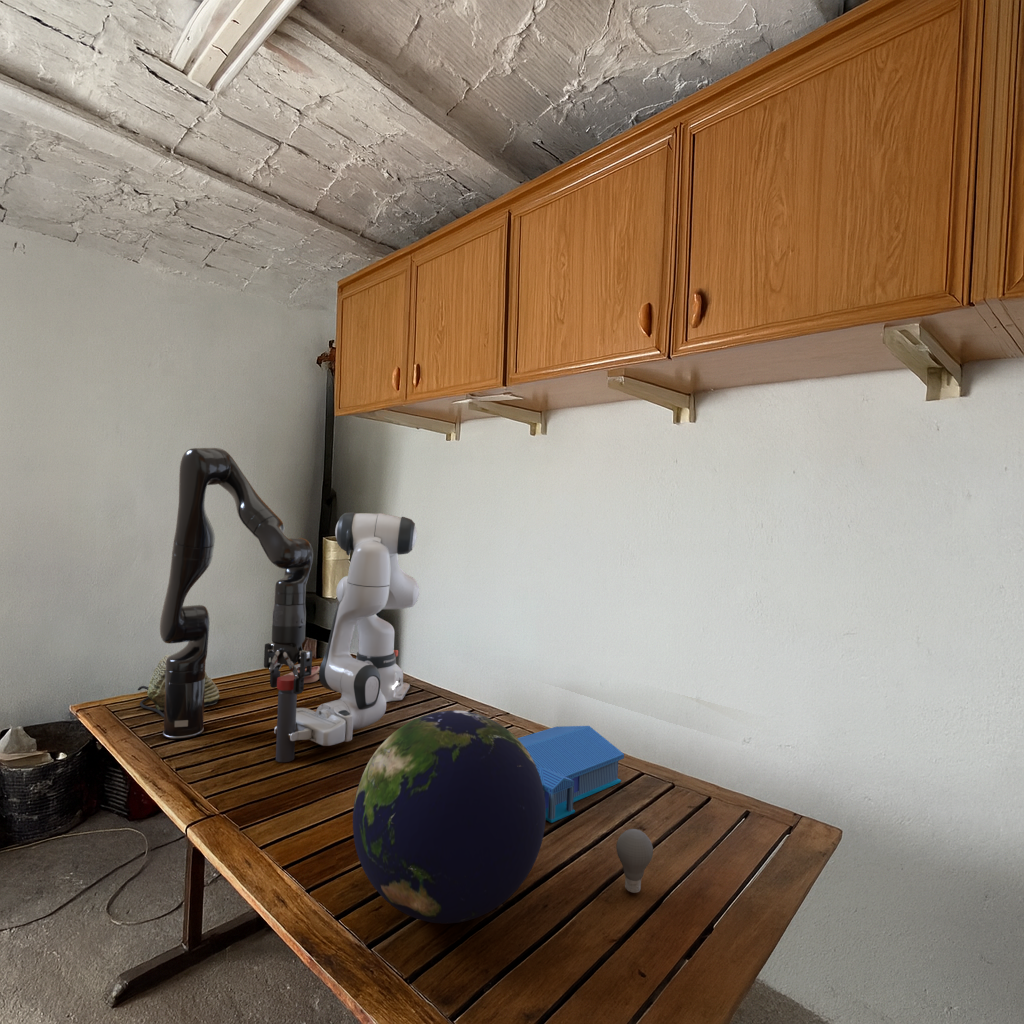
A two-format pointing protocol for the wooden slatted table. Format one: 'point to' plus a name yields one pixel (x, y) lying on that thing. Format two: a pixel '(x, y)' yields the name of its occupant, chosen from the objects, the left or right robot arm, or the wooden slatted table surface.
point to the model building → (571, 765)
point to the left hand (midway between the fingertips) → (286, 690)
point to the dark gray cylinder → (285, 725)
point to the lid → (285, 682)
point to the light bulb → (634, 857)
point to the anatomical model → (312, 677)
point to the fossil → (158, 687)
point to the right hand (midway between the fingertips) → (282, 734)
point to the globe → (449, 817)
